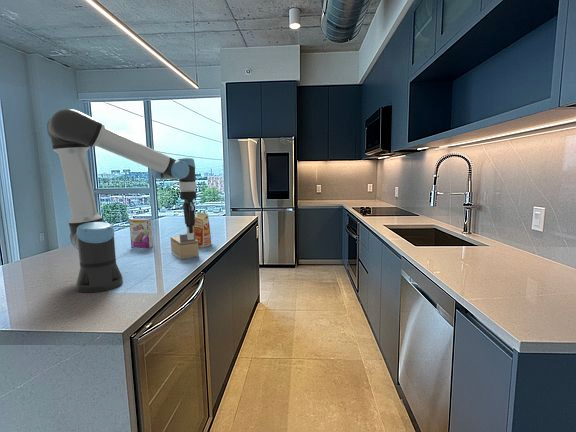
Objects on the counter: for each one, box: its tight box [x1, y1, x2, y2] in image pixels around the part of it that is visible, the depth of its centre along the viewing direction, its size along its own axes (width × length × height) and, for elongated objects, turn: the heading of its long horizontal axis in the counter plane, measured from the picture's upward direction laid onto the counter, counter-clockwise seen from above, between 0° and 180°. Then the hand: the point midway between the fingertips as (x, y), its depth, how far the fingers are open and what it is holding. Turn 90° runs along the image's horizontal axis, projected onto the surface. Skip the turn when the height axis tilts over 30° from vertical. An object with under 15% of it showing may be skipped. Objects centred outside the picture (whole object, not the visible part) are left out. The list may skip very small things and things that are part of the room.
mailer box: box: [170, 238, 200, 260], centre depth 168 cm, size 9×18×7 cm, turn 34°
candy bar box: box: [129, 218, 154, 249], centre depth 186 cm, size 11×5×16 cm, turn 84°
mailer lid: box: [170, 232, 198, 245], centre depth 167 cm, size 9×18×5 cm, turn 34°
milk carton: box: [193, 211, 212, 248], centre depth 189 cm, size 9×9×20 cm
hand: (190, 239), depth 158 cm, fingers closed
